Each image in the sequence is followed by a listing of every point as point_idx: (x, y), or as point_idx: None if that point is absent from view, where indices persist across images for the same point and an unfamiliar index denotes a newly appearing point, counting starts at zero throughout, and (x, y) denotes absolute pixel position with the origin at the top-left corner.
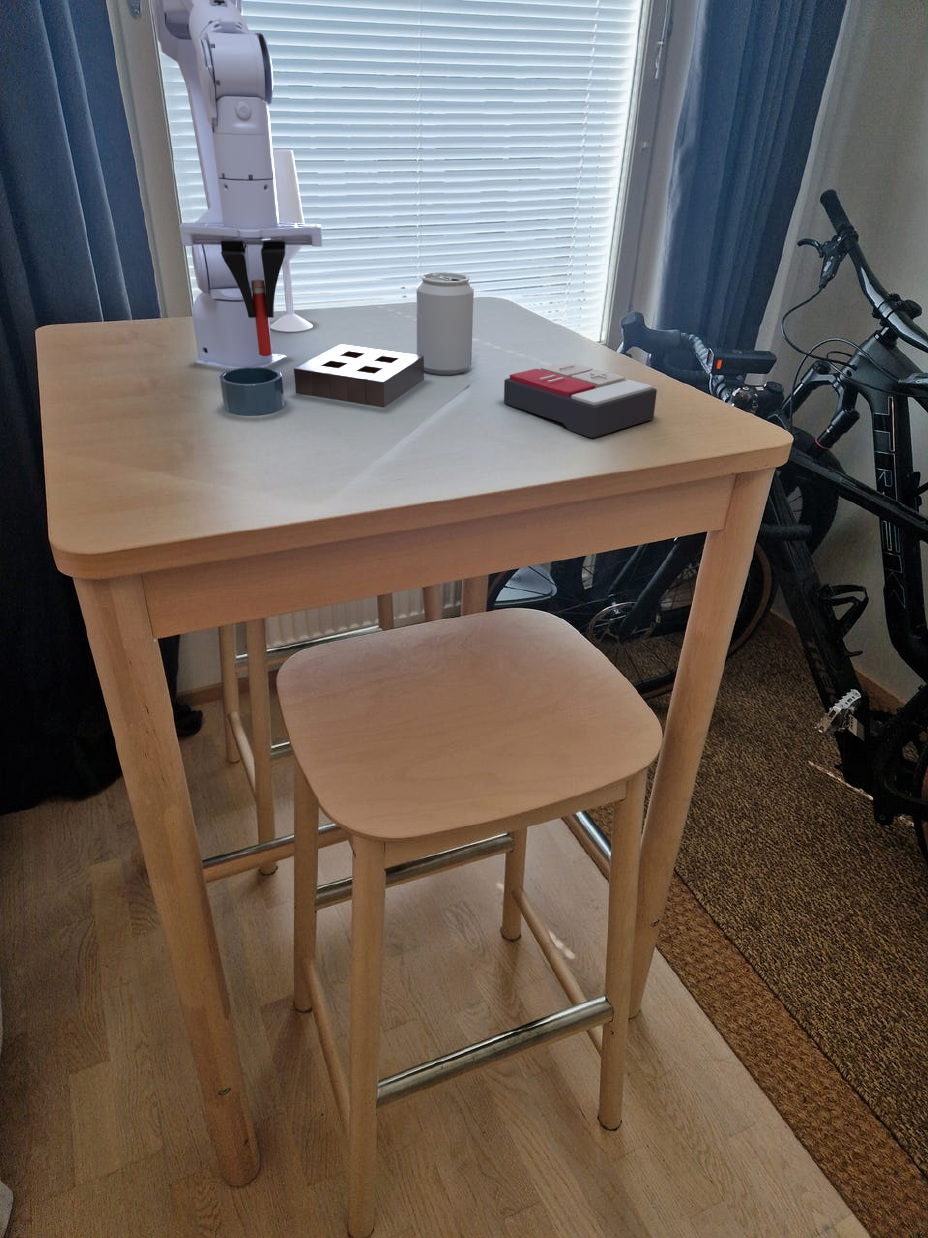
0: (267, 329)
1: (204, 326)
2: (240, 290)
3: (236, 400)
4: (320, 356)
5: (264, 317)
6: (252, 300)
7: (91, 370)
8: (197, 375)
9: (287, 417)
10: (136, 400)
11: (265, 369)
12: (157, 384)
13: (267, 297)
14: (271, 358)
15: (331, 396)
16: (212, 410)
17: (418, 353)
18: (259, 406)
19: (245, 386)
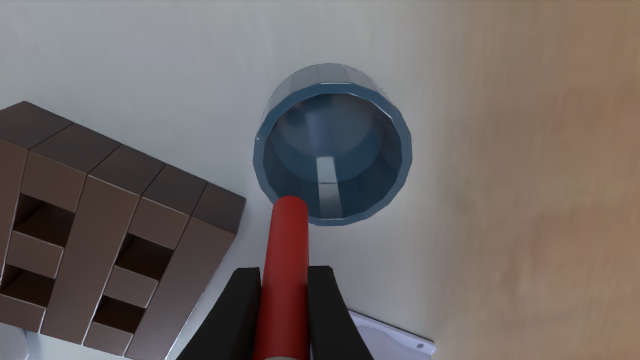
0: (269, 248)
1: None
2: (366, 347)
3: (367, 80)
4: (188, 304)
5: (271, 275)
6: (310, 323)
7: (600, 326)
8: (434, 305)
9: (250, 75)
10: (556, 193)
11: None
12: (506, 268)
13: (231, 323)
14: None
15: (158, 167)
16: (416, 130)
17: (3, 349)
18: (311, 71)
19: (344, 80)
